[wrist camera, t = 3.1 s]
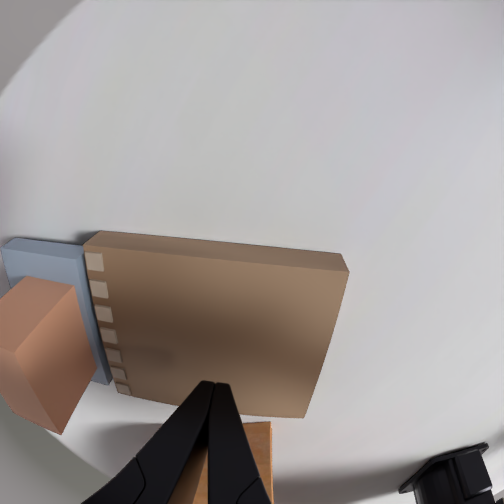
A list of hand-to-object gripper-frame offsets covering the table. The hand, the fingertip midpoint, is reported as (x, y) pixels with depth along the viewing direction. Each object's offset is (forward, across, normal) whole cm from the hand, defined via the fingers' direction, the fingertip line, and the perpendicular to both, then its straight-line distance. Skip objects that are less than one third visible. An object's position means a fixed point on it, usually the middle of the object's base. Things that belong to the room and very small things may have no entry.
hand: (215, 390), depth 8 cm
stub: (+3, +7, 0) cm, 7 cm away
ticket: (+3, +1, 0) cm, 3 cm away
